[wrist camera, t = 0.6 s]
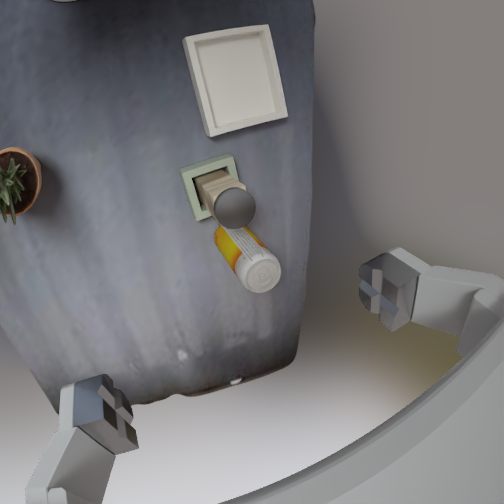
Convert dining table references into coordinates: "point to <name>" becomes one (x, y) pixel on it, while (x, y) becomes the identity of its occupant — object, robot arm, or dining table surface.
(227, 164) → the socket block
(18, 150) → the potted plant
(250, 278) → the orange pill bottle
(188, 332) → the dining table surface
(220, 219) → the wooden pepper mill
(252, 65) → the tray
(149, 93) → the dining table surface
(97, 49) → the dining table surface
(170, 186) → the dining table surface
